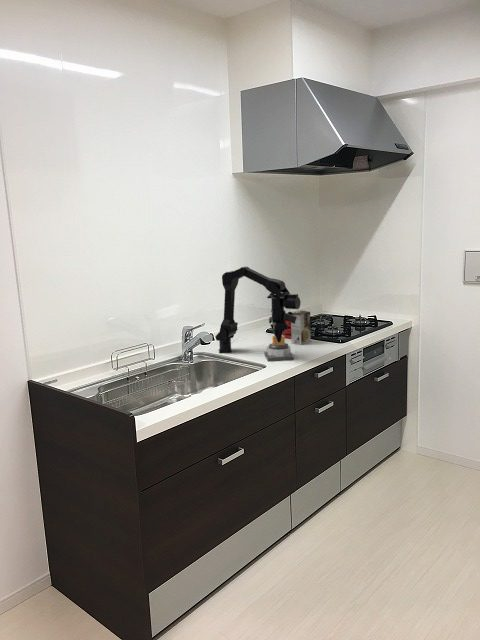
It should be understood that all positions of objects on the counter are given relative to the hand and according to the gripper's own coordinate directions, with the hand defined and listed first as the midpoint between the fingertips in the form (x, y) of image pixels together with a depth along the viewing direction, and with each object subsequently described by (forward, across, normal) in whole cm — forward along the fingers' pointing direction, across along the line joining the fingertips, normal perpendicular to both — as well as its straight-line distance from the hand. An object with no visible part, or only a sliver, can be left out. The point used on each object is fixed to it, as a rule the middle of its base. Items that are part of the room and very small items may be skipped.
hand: (278, 341), depth 252 cm
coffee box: (+8, +27, -16) cm, 32 cm away
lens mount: (+8, 0, 0) cm, 8 cm away
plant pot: (+8, +41, -14) cm, 44 cm away
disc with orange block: (+5, 0, 0) cm, 5 cm away
